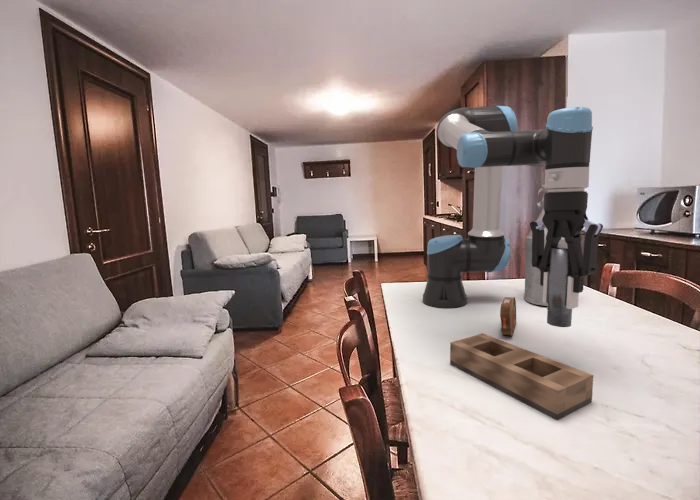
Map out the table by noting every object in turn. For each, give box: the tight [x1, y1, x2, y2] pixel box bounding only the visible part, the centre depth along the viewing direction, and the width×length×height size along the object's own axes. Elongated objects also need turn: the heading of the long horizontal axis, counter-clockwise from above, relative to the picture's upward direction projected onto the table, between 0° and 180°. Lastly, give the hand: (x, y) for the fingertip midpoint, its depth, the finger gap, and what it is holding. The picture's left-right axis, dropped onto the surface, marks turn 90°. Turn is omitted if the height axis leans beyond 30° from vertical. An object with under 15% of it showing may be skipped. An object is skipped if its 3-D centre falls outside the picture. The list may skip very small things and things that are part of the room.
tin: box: [499, 296, 517, 337], centre depth 98 cm, size 15×3×8 cm, turn 150°
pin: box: [546, 246, 573, 328], centre depth 74 cm, size 4×4×16 cm
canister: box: [523, 184, 568, 307], centre depth 121 cm, size 13×17×40 cm
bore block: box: [449, 332, 594, 421], centre depth 71 cm, size 24×10×5 cm, turn 29°
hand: (559, 304), depth 75 cm, fingers closed on pin, 4 cm apart
